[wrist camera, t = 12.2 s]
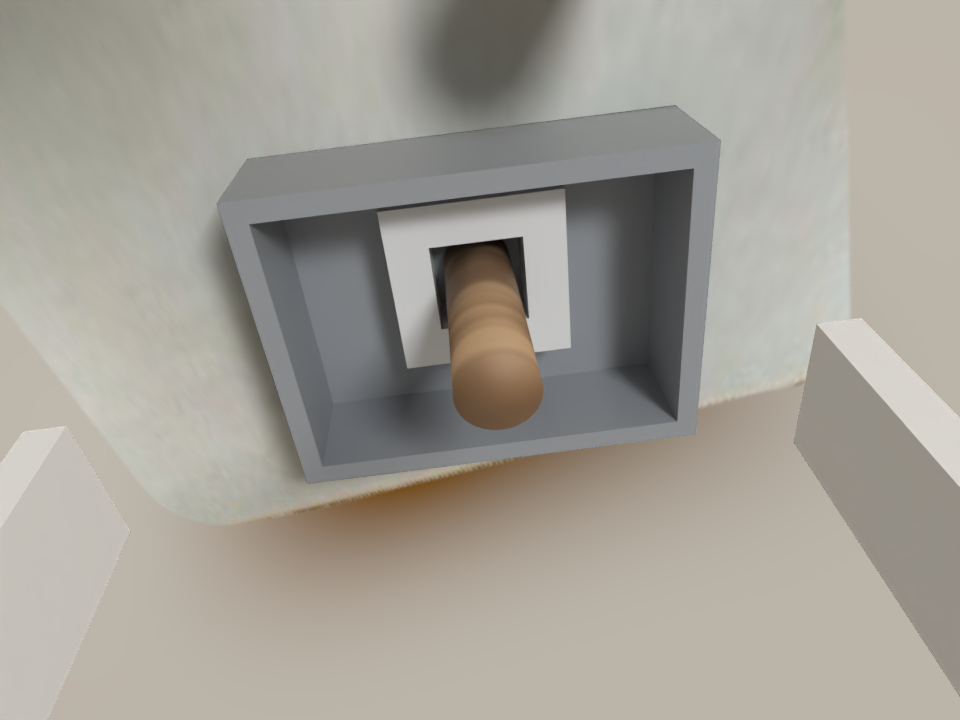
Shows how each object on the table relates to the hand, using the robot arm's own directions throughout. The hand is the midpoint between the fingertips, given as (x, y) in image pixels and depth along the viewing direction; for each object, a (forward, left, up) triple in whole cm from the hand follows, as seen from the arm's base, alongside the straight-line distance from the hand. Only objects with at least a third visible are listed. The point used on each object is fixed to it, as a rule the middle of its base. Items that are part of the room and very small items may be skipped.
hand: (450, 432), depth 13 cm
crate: (+12, +1, -29) cm, 32 cm away
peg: (+10, +1, -29) cm, 31 cm away
